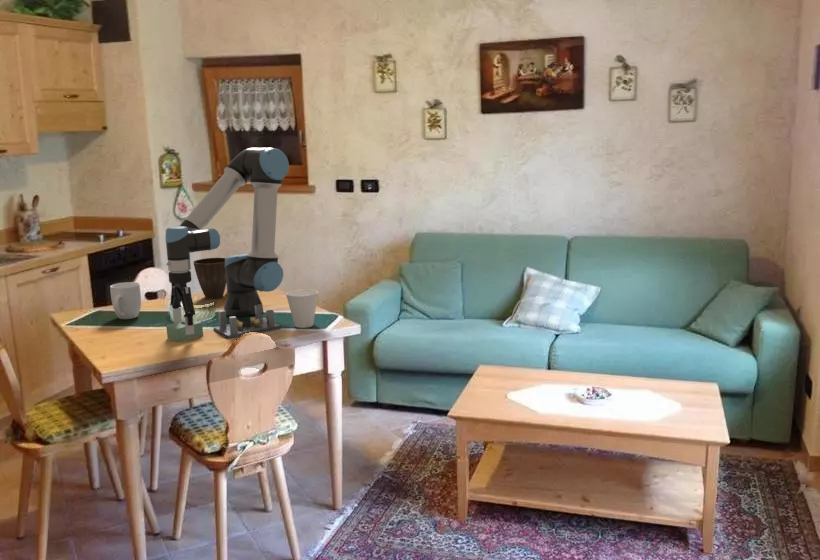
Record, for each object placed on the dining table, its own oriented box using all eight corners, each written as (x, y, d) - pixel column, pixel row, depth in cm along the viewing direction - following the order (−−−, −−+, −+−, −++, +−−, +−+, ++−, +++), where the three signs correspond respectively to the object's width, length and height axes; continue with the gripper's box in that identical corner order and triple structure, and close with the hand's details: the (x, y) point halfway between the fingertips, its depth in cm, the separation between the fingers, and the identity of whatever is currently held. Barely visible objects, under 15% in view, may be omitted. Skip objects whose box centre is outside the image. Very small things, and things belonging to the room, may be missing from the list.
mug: (132, 323, 294) (128, 290, 291) (104, 323, 295) (100, 290, 292) (147, 313, 309) (144, 281, 306) (120, 313, 309) (117, 282, 307)
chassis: (227, 338, 270) (226, 319, 268) (213, 330, 281) (212, 311, 280) (280, 328, 280) (279, 310, 279) (265, 321, 292) (263, 303, 290)
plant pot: (204, 292, 343) (200, 257, 339) (236, 292, 341) (233, 257, 338) (191, 300, 328) (188, 264, 325) (225, 300, 327) (222, 263, 323)
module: (179, 342, 268) (177, 327, 267) (167, 339, 272) (166, 324, 271) (203, 335, 275) (201, 320, 274) (191, 332, 280) (190, 317, 278)
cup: (290, 321, 290) (289, 289, 288) (322, 320, 290) (320, 288, 287) (285, 329, 279) (282, 296, 276) (317, 329, 278) (315, 295, 276)
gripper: (158, 267, 277) (163, 324, 281) (179, 277, 256) (184, 339, 260) (179, 264, 281) (183, 321, 285) (201, 275, 260) (206, 335, 264)
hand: (184, 330), depth 273 cm, fingers open, 13 cm apart
